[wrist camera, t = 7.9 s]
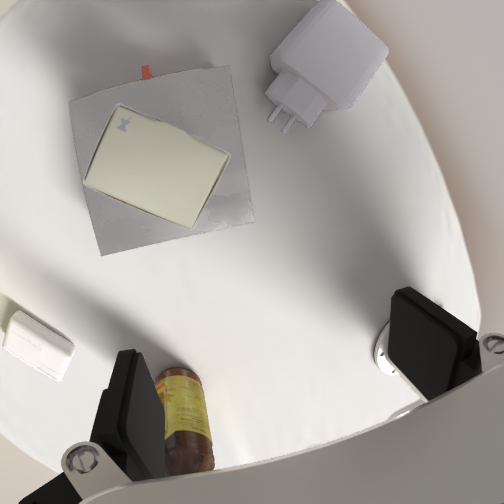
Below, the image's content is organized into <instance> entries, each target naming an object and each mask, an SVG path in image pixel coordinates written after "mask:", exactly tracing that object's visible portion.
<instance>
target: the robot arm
mask: <svg viewBox="0 0 504 504" xmlns="http://www.w3.org/2000/svg"><path fill="white" fill-rule="evenodd" d="M476 337H477V332H476V331H474V330H473V329H472V328H470V327H469V326H467V325H466V324H465V323H463V322H462V321H460V320H459V319H457V318H456V317H454V316H453V315H452V314H450V313H449V312H447V311H446V310H444V309H443V308H441V307H440V306H438V305H437V304H435V303H434V302H432V301H431V300H429V299H428V298H426V297H425V296H423V295H422V294H420V293H419V292H417V291H416V290H414V289H413V288H411V287H405V288H402V289H399V290H396V291H395V293H394V295H393V296H392V298H391V314H390V321H389V323H388V324H387V325H386V326H385V328H384V329H383V331H382V333H381V334H380V336H379V338H378V341H377V344H376V347H375V353H374V357H375V362H376V365H377V366H378V368H379V369H380V370H381V371H382V372H383V373H385V374H388V375H398V374H399V375H400V377H401V378H402V379H403V380H404V381H405V382H406V383H407V384H408V385H409V386H410V387H411V388H412V389H413V391H414V392H415V393H416V394H417V395H418V396H419V397H420V398H421V399H422V400H423V401H424V402H425V403H424V404H422V405H420V406H418V407H416V408H414V409H412V410H410V411H407V412H405V413H403V414H401V415H398V416H396V417H394V418H392V419H389V420H387V421H384V422H382V423H379V424H377V425H374V426H372V427H369V428H367V429H364V430H362V431H359V432H356V433H354V434H351V435H348V436H345V437H342V438H339V439H337V440H334V441H331V442H328V443H324V444H321V445H318V446H315V447H312V448H308V449H305V450H301V451H298V452H294V453H291V454H287V455H283V456H279V457H275V458H271V459H267V460H263V461H258V462H254V463H249V464H244V465H239V466H234V467H229V468H223V469H218V470H212V471H206V472H200V473H193V474H186V475H178V476H171V477H165V410H164V407H163V404H162V402H161V400H160V397H159V395H158V393H157V390H156V388H155V385H154V383H153V380H152V378H151V376H150V373H149V370H148V368H147V365H146V363H145V360H144V358H143V355H142V353H141V352H138V353H137V352H136V350H135V349H131V350H124V351H119V352H118V355H117V358H116V362H115V365H114V369H113V372H112V375H111V379H110V382H109V386H108V389H105V390H103V392H102V395H101V399H100V403H99V406H98V410H97V413H96V417H95V421H94V425H93V429H92V433H91V437H90V441H89V442H80V443H77V444H75V445H72V446H71V447H70V448H68V449H67V450H66V452H65V453H64V454H63V457H62V460H61V466H62V469H63V471H64V472H62V473H61V474H60V475H58V476H57V477H55V478H54V479H52V480H51V481H49V482H48V483H46V484H45V485H43V486H42V487H40V488H39V489H37V490H36V491H34V492H33V493H31V494H29V495H28V496H26V497H25V498H23V499H22V500H21V501H20V502H19V504H504V335H502V334H498V333H489V334H486V335H484V336H482V337H481V339H480V340H479V341H478V340H476Z"/></svg>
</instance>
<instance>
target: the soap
mask: <svg viewBox="0 0 504 504" xmlns="http://www.w3.org/2000/svg"><path fill="white" fill-rule="evenodd" d="M3 348H4V349H5V350H7V351H8V352H9V353H11V354H12V355H14V356H15V357H17V358H18V359H20V360H21V361H23V362H25V363H26V364H28V365H29V366H31V367H32V368H34V369H36V370H37V371H39V372H41V373H42V374H44V375H46V376H47V377H49V378H51V379H53V380H54V381H56V382H59V381H61V380H62V378H63V376H64V373H65V371H66V369H67V367H68V365H69V362H70V360H71V358H72V356H73V353H74V351H75V346H74V344H73V343H71V342H69V341H68V340H66V339H64V338H63V337H61V336H59V335H58V334H56V333H55V332H53V331H51V330H50V329H48V328H47V327H45V326H43V325H42V324H40V323H39V322H37V321H36V320H34V319H33V318H31V317H30V316H28V315H27V314H25V313H24V312H22V311H21V310H17V311H16V312H15V313H14V314H13V315H12V316H11V318H10V320H9V323H8V326H7V329H6V333H5V337H4V340H3Z"/></svg>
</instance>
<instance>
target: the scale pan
mask: <svg viewBox="0 0 504 504" xmlns="http://www.w3.org/2000/svg"><path fill="white" fill-rule="evenodd" d="M142 74H143V81H139V82H135V83H131V84H127V85H123V86H119V87H116V88H112V89H108V90H105V91H101V92H98V93H95V94H91V95H88V96H85V97H82V98H79V99H76V100H73V101H70V102H69V108H70V115H71V122H72V129H73V135H74V142H75V147H76V153H77V158H78V164H79V169H80V174H81V178H82V181H83V178H84V175H85V172H86V169H87V166H88V164H89V161H90V158H91V156H92V154H93V151H94V149H95V146H96V144H97V142H98V140H99V138H100V135H101V133H102V131H103V129H104V127H105V125H106V123H107V121H108V119H109V117H110V115H111V113H112V111H113V109H114V107H115V105H116V104H117V103H122V104H124V105H126V106H129V107H131V108H134V109H136V110H139V111H141V112H144V113H146V114H148V115H151V116H153V117H155V118H158V119H160V120H162V121H165V122H167V123H169V124H172V125H174V126H176V127H178V128H181V129H183V130H185V131H187V132H189V133H191V134H194V135H196V136H198V137H200V138H202V139H204V140H206V141H208V142H210V143H212V144H214V145H216V146H218V147H220V148H222V149H224V150H226V151H228V152H229V153H230V154H231V159H230V161H229V163H228V165H227V167H226V169H225V171H224V173H223V175H222V177H221V179H220V181H219V182H218V184H217V186H216V188H215V190H214V192H213V194H212V196H211V198H210V199H209V201H208V203H207V205H206V207H205V209H204V210H203V212H202V214H201V216H200V218H199V220H198V222H197V224H196V226H195V228H194V229H193V230H192V231H190V230H188V229H185V228H182V227H180V226H177V225H174V224H172V223H169V222H166V221H164V220H161V219H159V218H156V217H154V216H151V215H149V214H146V213H144V212H141V211H139V210H137V209H134V208H132V207H130V206H127V205H125V204H122V203H120V202H118V201H115V200H113V199H111V198H109V197H107V196H105V195H103V194H101V193H99V192H97V191H94V190H93V189H91V188H89V187H87V186H85V185H84V184H83V188H84V192H85V197H86V201H87V205H88V209H89V213H90V217H91V221H92V225H93V229H94V232H95V236H96V240H97V243H98V247H99V250H100V253H101V256H104V255H109V254H113V253H117V252H121V251H125V250H130V249H134V248H138V247H143V246H147V245H151V244H156V243H160V242H164V241H169V240H173V239H178V238H182V237H187V236H191V235H196V234H201V233H205V232H210V231H214V230H219V229H224V228H229V227H233V226H238V225H243V224H248V223H253V222H254V216H253V210H252V203H251V197H250V191H249V185H248V178H247V172H246V166H245V160H244V153H243V147H242V141H241V135H240V129H239V122H238V116H237V110H236V104H235V98H234V92H233V86H232V80H231V74H230V68H229V66H222V67H215V68H208V69H201V70H195V71H189V72H183V73H177V74H172V75H167V76H162V77H157V78H152V79H151V77H152V74H151V71H150V68H149V65H148V66H144V67H142ZM82 183H83V182H82Z"/></svg>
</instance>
